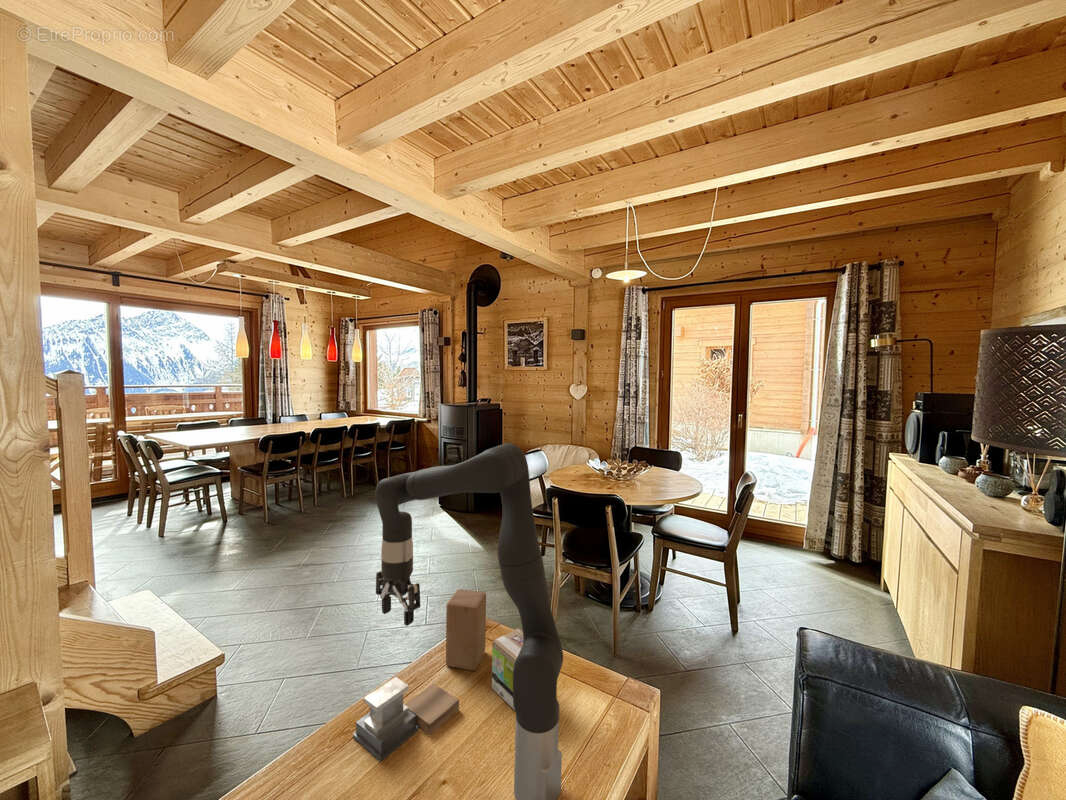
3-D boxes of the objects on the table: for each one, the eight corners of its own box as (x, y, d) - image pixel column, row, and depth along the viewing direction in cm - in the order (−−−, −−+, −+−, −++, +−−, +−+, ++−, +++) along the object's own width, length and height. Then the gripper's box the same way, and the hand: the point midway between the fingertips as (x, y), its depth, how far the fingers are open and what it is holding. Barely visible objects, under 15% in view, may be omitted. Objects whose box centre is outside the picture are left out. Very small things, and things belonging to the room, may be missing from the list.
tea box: (490, 689, 122) (491, 639, 121) (517, 673, 128) (518, 626, 127) (524, 722, 110) (525, 667, 110) (552, 703, 117) (554, 651, 116)
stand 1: (418, 730, 107) (418, 715, 107) (380, 762, 98) (380, 745, 98) (391, 709, 114) (391, 695, 113) (353, 737, 105) (352, 722, 104)
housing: (376, 736, 101) (376, 707, 100) (364, 725, 103) (364, 697, 103) (408, 711, 108) (408, 685, 107) (395, 702, 111) (395, 676, 110)
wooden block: (475, 672, 128) (476, 607, 127) (444, 667, 130) (445, 603, 129) (486, 651, 138) (487, 591, 137) (456, 646, 140) (457, 587, 139)
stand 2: (458, 710, 114) (459, 699, 114) (429, 736, 106) (429, 724, 105) (433, 693, 120) (433, 683, 119) (403, 716, 111) (403, 705, 111)
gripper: (366, 553, 108) (367, 615, 109) (403, 568, 100) (403, 635, 101) (391, 543, 114) (391, 602, 115) (428, 557, 106) (428, 620, 107)
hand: (397, 618), depth 108 cm, fingers open, 8 cm apart
